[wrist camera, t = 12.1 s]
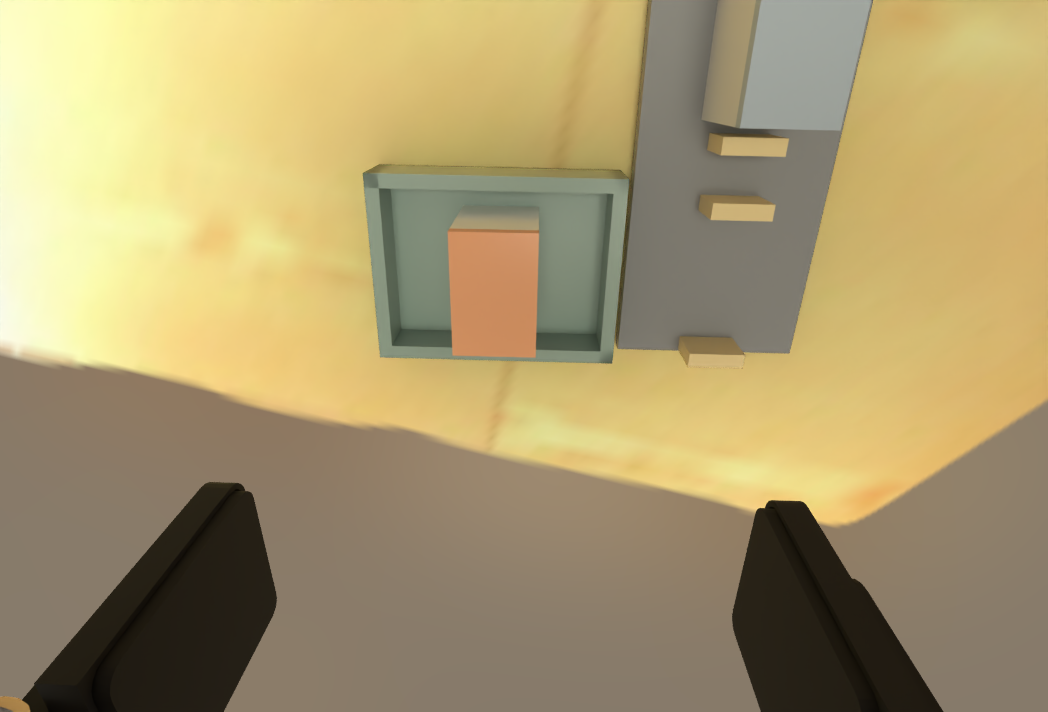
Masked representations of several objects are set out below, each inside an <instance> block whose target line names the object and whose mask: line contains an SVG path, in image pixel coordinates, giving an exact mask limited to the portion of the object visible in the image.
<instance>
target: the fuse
mask: <svg viewBox="0 0 1048 712" xmlns="http://www.w3.org/2000/svg"><path fill="white" fill-rule="evenodd" d="M448 254H449V279H450V304H451V329H452V354H453V356H488V357H530V358H536V326H537V290H538V254H539V207H516V206H467V205H463V207H462V209H461V210H460V212H459V214H458V215H457V217H456V218H455V220H454V222H453V223H452V225H451V227H450V228H449V230H448Z"/></svg>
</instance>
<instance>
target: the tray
mask: <svg viewBox="0 0 1048 712" xmlns="http://www.w3.org/2000/svg"><path fill="white" fill-rule="evenodd" d="M363 181H364V191H365V202H366V212H367V223H368V233H369V244H370V254H371V265H372V275H373V286H374V296H375V307H376V317H377V328H378V339H379V349H380V357H389V358H426V359H464V360H501V361H539V362H576V363H612V360H613V349H614V339H615V328H616V317H617V307H618V296H619V285H620V275H621V264H622V254H623V243H624V232H625V222H626V211H627V200H628V190H629V178H628V177H627V176H626V175H625V174H624V173H623V172H622V171H621V170H590V169H547V168H504V167H462V166H419V165H377V166H375V167H373V168H372V169H370V170H368V171H366V172H364V173H363ZM463 205H467V206H516V207H539V254H538V290H537V326H536V358H530V357H488V356H453V354H452V329H451V304H450V279H449V254H448V230H449V228H450V227H451V225H452V223H453V222H454V220H455V218H456V217H457V215H458V214H459V212H460V210H461V209H462V207H463Z"/></svg>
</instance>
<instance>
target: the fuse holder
mask: <svg viewBox="0 0 1048 712" xmlns="http://www.w3.org/2000/svg"><path fill="white" fill-rule="evenodd" d="M872 3H873V0H648V9H647V20H646V30H645V41H644V51H643V62H642V72H641V83H640V93H639V104H638V114H637V125H636V135H635V146H634V156H633V167H632V177H631V188H630V198H629V209H628V219H627V229H626V240H625V250H624V261H623V271H622V282H621V292H620V303H619V313H618V324H617V334H616V344H617V348H618V349H643V350H679V352H680V354H681V355H682V357H683V359H684V361H685V363H686V365H687V367H704V368H741V369H743V365H744V360H745V354H744V353H743V352H756V353H790V349H791V345H792V340H793V336H794V332H795V328H796V323H797V319H798V315H799V311H800V307H801V302H802V298H803V294H804V290H805V286H806V281H807V277H808V273H809V269H810V264H811V260H812V256H813V252H814V248H815V243H816V239H817V235H818V231H819V226H820V222H821V218H822V214H823V210H824V205H825V201H826V197H827V193H828V189H829V184H830V180H831V176H832V172H833V167H834V163H835V159H836V155H837V151H838V146H839V142H840V138H841V134H842V129H843V125H844V121H845V117H846V113H847V108H848V104H849V100H850V96H851V92H852V87H853V83H854V79H855V75H856V70H857V66H858V62H859V58H860V54H861V49H862V45H863V41H864V37H865V33H866V28H867V24H868V20H869V16H870V11H871V7H872Z"/></svg>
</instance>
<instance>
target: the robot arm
mask: <svg viewBox="0 0 1048 712" xmlns="http://www.w3.org/2000/svg"><path fill="white" fill-rule="evenodd" d="M276 599H277V597H276V591H275V586H274V582H273V578H272V574H271V569H270V565H269V562H268V557H267V552H266V548H265V544H264V540H263V535H262V531H261V527H260V523H259V519H258V514H257V510H256V506H255V502H254V498H253V495H252V493H251V492H248V491H245V489H244V487H243V486H242V485H241V484H239V483H220V482H209V483H206V484H204V486H202V487H201V488H200V489H199V491H198V492H197V493H196V494H195V495H194V497H193V498H192V499H191V500H190V501H189V502H188V504H187V505H186V506H185V507H184V508H183V510H182V511H181V512H180V513H179V514H178V515H177V516H176V518H175V519H174V520H173V521H172V522H171V524H170V525H169V526H168V527H167V528H166V529H165V531H164V532H163V533H162V534H161V535H160V536H159V538H158V539H157V540H156V541H155V542H154V544H153V545H152V546H151V547H150V548H149V549H148V550H147V552H146V553H145V554H144V555H143V556H142V558H141V559H140V560H139V561H138V562H137V563H136V565H135V566H134V567H133V568H132V569H131V570H130V572H129V573H128V574H127V575H126V576H125V578H124V579H123V580H122V581H121V582H120V584H119V585H118V586H117V587H116V588H115V589H114V590H113V592H112V593H111V594H110V595H109V596H108V597H107V599H106V600H105V601H104V602H103V603H102V605H101V606H100V607H99V608H98V609H97V610H96V612H95V613H94V614H93V615H92V616H91V618H90V619H89V620H88V621H87V622H86V623H85V624H84V626H83V627H82V628H81V629H80V630H79V632H78V633H77V634H76V635H75V636H74V637H73V639H72V640H71V641H70V642H69V643H68V644H67V646H66V647H65V648H64V649H63V650H62V651H61V653H60V654H59V655H58V656H57V657H56V658H55V660H54V661H53V662H52V663H51V664H50V666H49V667H48V668H47V669H46V670H45V671H44V673H43V674H42V675H41V676H40V677H39V678H38V680H37V681H36V682H35V683H34V684H35V685H34V686H33V688H32V689H31V690H30V691H29V692H28V693H27V695H26V696H25V697H24V698H23V699H22V700H21V699H19V698H14V697H7V696H3V697H0V712H224V710H225V708H226V706H227V704H228V702H229V700H230V698H231V696H232V694H233V692H234V691H235V689H236V687H237V685H238V683H239V681H240V679H241V677H242V675H243V673H244V671H245V669H246V667H247V665H248V663H249V661H250V659H251V657H252V655H253V654H254V652H255V650H256V648H257V646H258V644H259V642H260V640H261V638H262V636H263V634H264V632H265V630H266V628H267V626H268V624H269V622H270V620H271V618H272V616H273V614H274V611H275V608H276V601H277V600H276ZM732 621H733V629H734V633H735V636H736V639H737V642H738V645H739V648H740V651H741V654H742V657H743V660H744V662H745V666H746V669H747V672H748V674H749V678H750V680H751V684H752V686H753V689H754V692H755V695H756V698H757V701H758V704H759V707H760V710H761V712H943V710H942V709H941V707H940V706H939V704H938V703H937V701H936V699H935V698H934V696H933V694H932V693H931V692H930V690H929V688H928V687H927V685H926V683H925V682H924V680H923V679H922V677H921V675H920V674H919V672H918V671H917V669H916V668H915V666H914V664H913V663H912V661H911V660H910V658H909V656H908V655H907V653H906V652H905V650H904V649H903V647H902V645H901V644H900V642H899V640H898V639H897V637H896V636H895V634H894V632H893V631H892V629H891V628H890V626H889V625H888V623H887V621H886V620H885V618H884V617H883V615H882V613H881V612H880V610H879V609H878V607H877V606H876V604H875V602H874V601H873V599H872V597H871V596H870V594H869V593H868V591H867V590H866V589H865V587H864V586H863V585H862V584H861V583H860V582H859V581H857V580H856V579H852V578H851V577H850V575H849V574H848V572H847V570H846V569H845V567H844V566H843V564H842V562H841V560H840V559H839V557H838V556H837V554H836V552H835V551H834V549H833V547H832V546H831V544H830V543H829V541H828V539H827V538H826V536H825V534H824V533H823V531H822V529H821V528H820V526H819V525H818V523H817V521H816V520H815V518H814V516H813V515H812V513H811V511H810V510H809V508H808V507H807V505H806V504H805V503H804V502H801V501H776V500H771V501H769V502H768V503H767V504H766V507H765V508H759V509H758V510H757V511H756V514H755V518H754V523H753V527H752V531H751V535H750V540H749V544H748V548H747V553H746V557H745V561H744V565H743V570H742V574H741V579H740V583H739V587H738V591H737V596H736V600H735V604H734V609H733V614H732Z"/></svg>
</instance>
